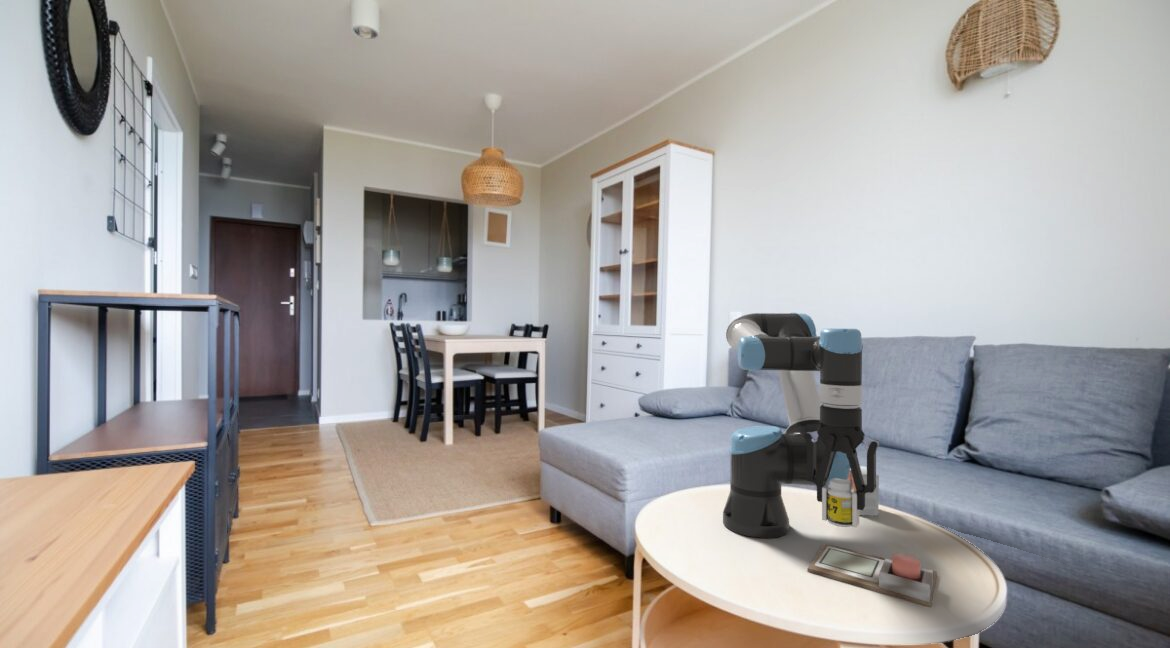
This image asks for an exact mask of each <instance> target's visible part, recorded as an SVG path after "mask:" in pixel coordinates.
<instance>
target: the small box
mask: <svg viewBox="0 0 1170 648" xmlns="http://www.w3.org/2000/svg"><path fill="white" fill-rule="evenodd" d="M860 469H861V472H862V476H863V480H864V484H865V485H867V466H865V465H863V466H861V465H860ZM879 479H880V476H879V474H878V473H876V489H875V490H874V492H872V493H870V492H869V493H865V508H864V509H863V510H859V516H870V517H871V516H872V517H879V500H880V499H879V496H880V491H879V490H880V489H879V487H880V485H879V484H880V482H879V481H880V480H879ZM847 480H848V481H850V482H851V483H852V490H851V491H852V492H854V491H855V490H856V487H855V483H854V480H853V476H852V472H851V468H850V473H849V476H848V479H847Z"/></svg>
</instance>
